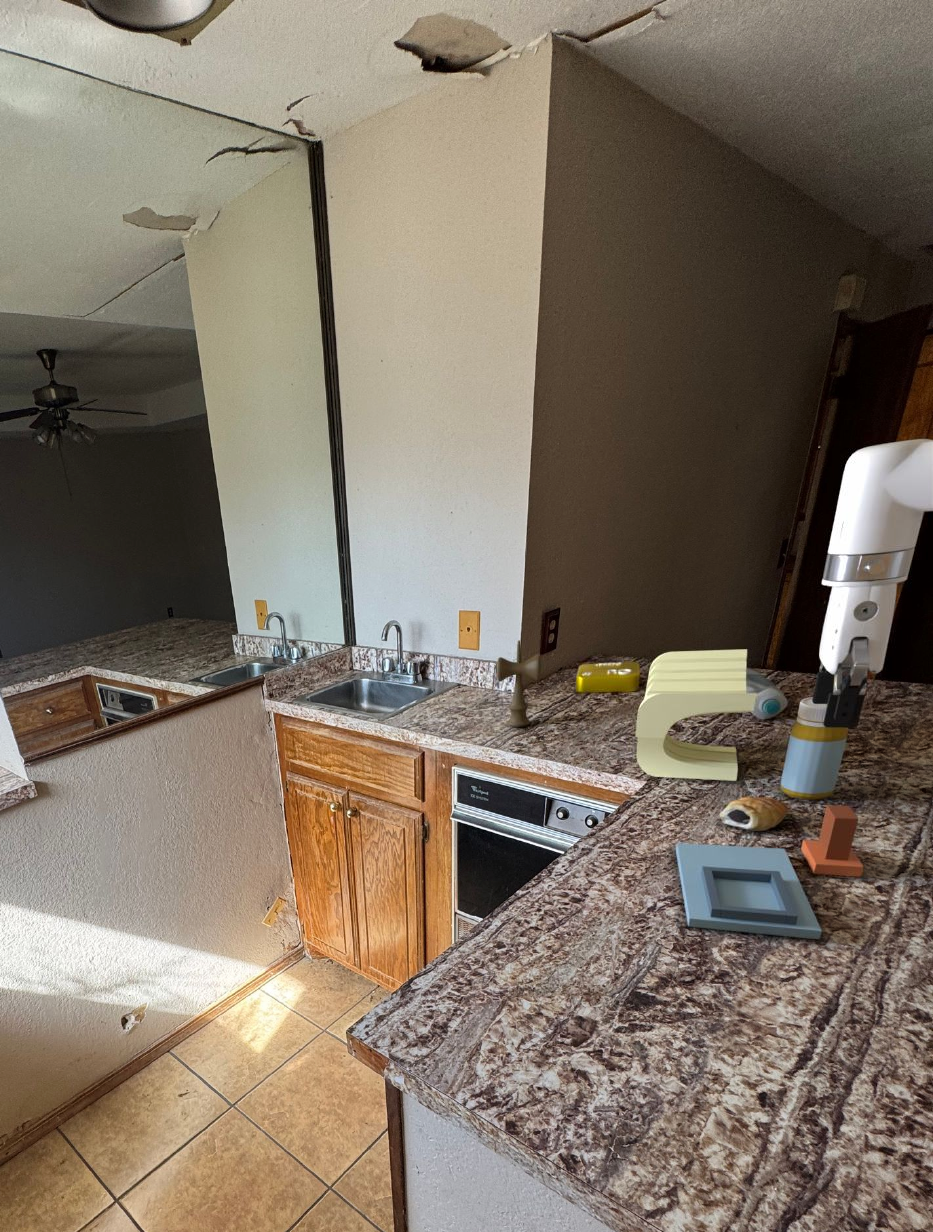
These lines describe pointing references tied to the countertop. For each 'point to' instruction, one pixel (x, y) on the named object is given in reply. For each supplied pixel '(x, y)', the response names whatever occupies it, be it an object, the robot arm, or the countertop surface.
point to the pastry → (754, 813)
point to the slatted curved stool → (690, 712)
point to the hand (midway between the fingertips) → (833, 714)
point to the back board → (744, 891)
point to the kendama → (519, 684)
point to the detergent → (764, 695)
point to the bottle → (812, 754)
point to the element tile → (608, 677)
